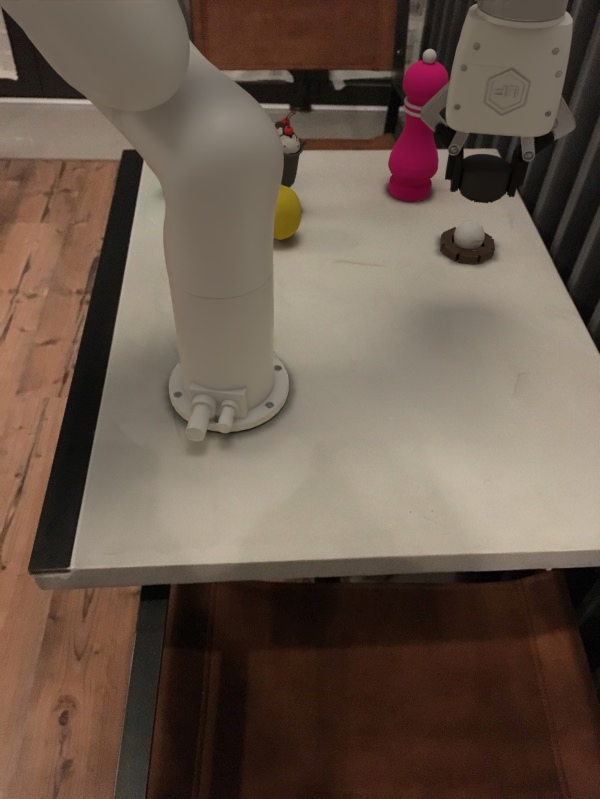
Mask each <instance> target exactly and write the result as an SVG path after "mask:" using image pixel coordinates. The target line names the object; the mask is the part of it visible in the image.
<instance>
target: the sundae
mask: <svg viewBox="0 0 600 799" xmlns="http://www.w3.org/2000/svg"><path fill="white" fill-rule="evenodd" d="M296 114H297V112H296V111H295V110H294V109H291V111H290V112H289V113H288V114H287V115H286V117H283V118H281V119H280V120H278V121H275V122H273V123H274V125H275V127H276V129H277V131H278V134H279V137H280V140H281V144H282V148H283V156H284V166H283V175H282V180H281V185H283V186H286V187H289V188H291V187H292V186H293V185H294V184H295V181H296V178H297V174H298V168H299V161H300V156H301V154H302V153H303V151H304V150H305V148H306V146H307V145H308V144H307V141H305V139H303V138H301V137H299V136H298V135H297V134H296V133H295V130H294V128H293V126H292V125H291V120H290V119H291V118H292V116H294V115H296Z"/></svg>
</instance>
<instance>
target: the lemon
mask: <svg viewBox="0 0 600 799" xmlns="http://www.w3.org/2000/svg"><path fill="white" fill-rule="evenodd" d="M301 222H302V205H301V200H300V198H299V196H298V194H297V192H295V191H294V190H293V189H292V188H291V187H290V188H289V187H286V186H283V185H281V186H280V190H279V195H278V200H277V205H276V211H275V220H274V235H273V239H276V240H278V241H283V240H285V239H288V238H290V237H292V236H293V235H294V234H295V233H297V231H298V229H299V227H300V225H301Z"/></svg>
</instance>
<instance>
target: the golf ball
mask: <svg viewBox="0 0 600 799" xmlns="http://www.w3.org/2000/svg"><path fill="white" fill-rule="evenodd" d="M485 233H486V232H485V229H484V227H483V225H482V224H480V222H478V221H476V220H469V219H468V220H465V221H462V222H460V223H459V224H458V225H457V226H456V230H455V233H454V245H456V246H457V247H459V248H460V249H462V250H473V251H476V250H478V249H480V248H481V247H482V246H481V245H482V243H483V241H484V237H485Z"/></svg>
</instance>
